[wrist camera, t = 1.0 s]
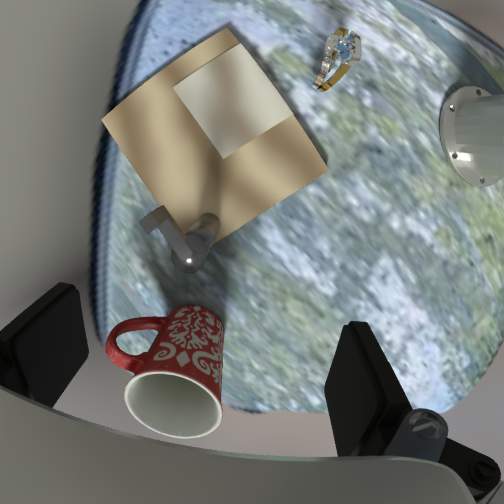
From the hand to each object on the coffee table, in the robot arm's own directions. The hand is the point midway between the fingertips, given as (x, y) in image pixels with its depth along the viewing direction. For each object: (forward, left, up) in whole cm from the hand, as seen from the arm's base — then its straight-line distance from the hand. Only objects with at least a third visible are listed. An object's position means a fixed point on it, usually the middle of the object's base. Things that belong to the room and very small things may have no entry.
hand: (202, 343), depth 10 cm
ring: (-16, -8, -24) cm, 29 cm away
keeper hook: (+3, -2, -22) cm, 22 cm away
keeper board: (-2, -8, -23) cm, 25 cm away
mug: (+13, +7, -24) cm, 28 cm away
